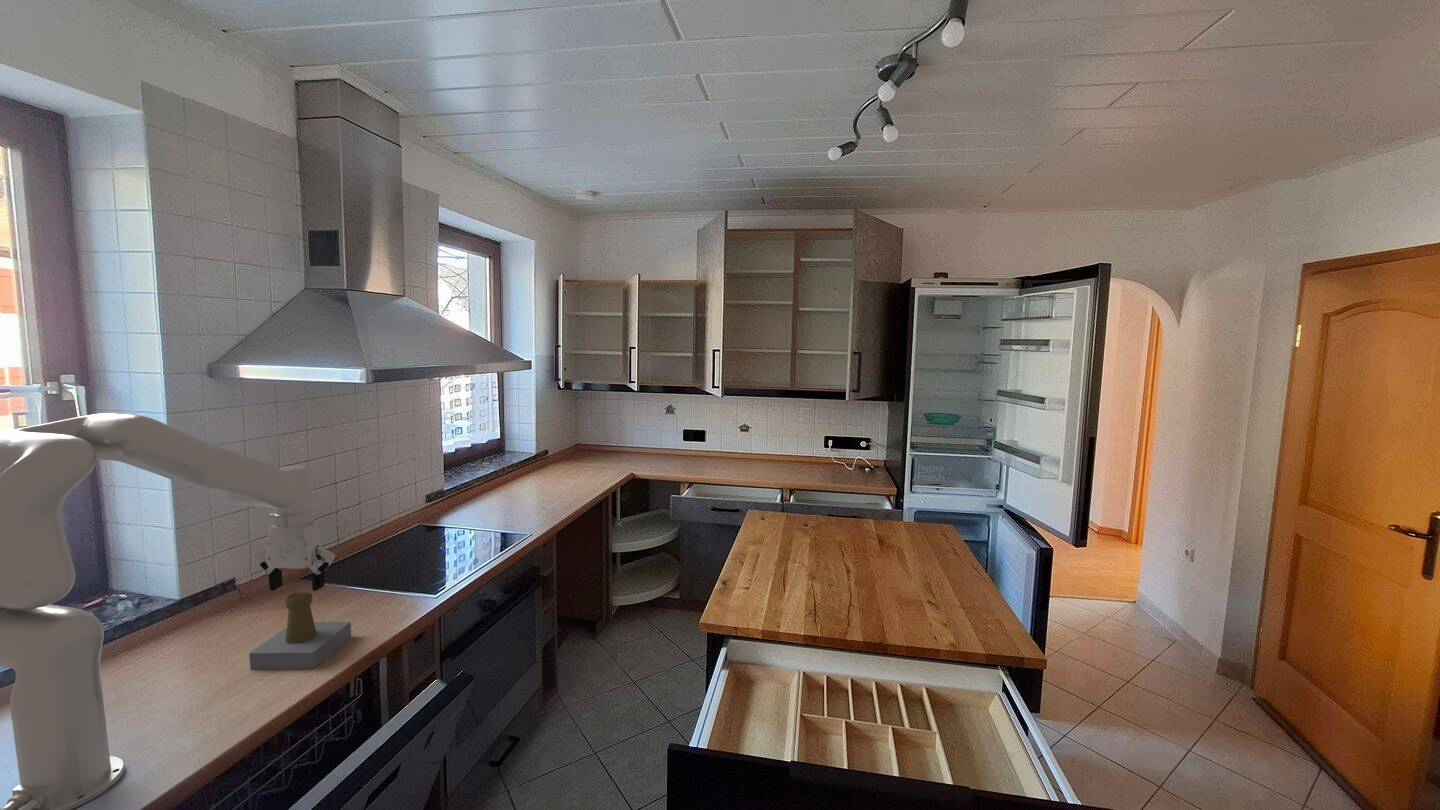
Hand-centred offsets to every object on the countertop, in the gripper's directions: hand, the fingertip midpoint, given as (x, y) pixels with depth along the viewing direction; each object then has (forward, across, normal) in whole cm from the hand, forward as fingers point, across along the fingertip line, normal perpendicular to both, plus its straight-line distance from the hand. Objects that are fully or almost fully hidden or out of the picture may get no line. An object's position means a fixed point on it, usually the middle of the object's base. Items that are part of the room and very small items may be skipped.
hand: (297, 588), depth 131 cm
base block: (+16, 0, +1) cm, 16 cm away
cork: (+13, 0, +1) cm, 13 cm away
